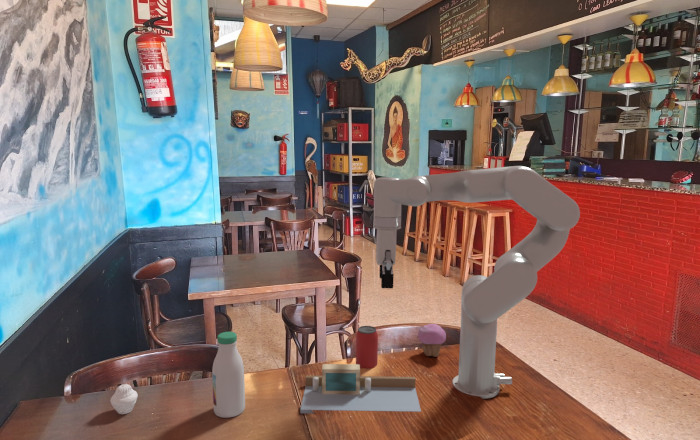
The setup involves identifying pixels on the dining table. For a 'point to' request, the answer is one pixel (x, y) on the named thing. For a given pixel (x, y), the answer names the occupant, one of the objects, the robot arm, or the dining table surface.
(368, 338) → the beer can
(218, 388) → the milk bottle
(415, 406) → the ledge
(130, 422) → the dining table surface
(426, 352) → the cupcake
